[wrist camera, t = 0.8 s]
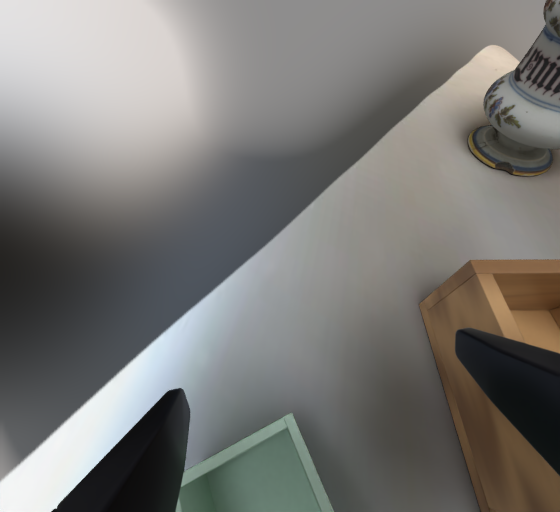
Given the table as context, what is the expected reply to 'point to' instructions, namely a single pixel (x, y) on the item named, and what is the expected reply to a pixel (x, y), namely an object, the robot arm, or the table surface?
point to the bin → (257, 476)
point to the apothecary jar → (525, 108)
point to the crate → (466, 392)
